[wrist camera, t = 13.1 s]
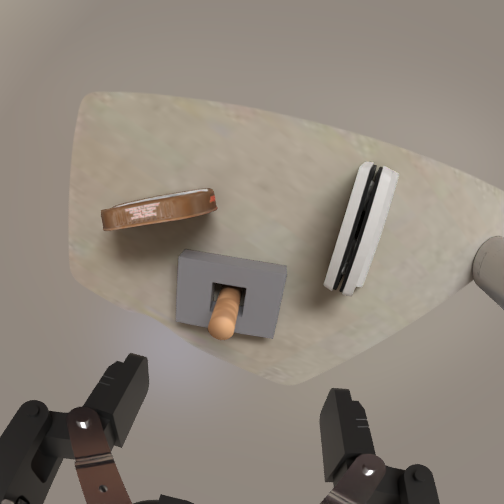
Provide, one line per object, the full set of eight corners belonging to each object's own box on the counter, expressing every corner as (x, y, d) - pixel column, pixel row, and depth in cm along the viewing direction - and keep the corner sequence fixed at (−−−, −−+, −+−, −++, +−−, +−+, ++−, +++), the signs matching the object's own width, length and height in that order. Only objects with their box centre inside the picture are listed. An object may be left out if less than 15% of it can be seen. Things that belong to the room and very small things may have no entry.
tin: (121, 221, 42) (92, 239, 34) (117, 200, 41) (85, 214, 33) (223, 205, 41) (210, 221, 33) (219, 181, 40) (205, 191, 32)
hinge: (362, 285, 43) (354, 315, 34) (331, 274, 44) (316, 300, 36) (399, 171, 37) (404, 170, 28) (366, 160, 39) (360, 156, 30)
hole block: (286, 265, 43) (286, 274, 40) (273, 327, 46) (273, 338, 43) (184, 249, 43) (178, 256, 40) (181, 311, 46) (175, 321, 44)
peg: (243, 282, 44) (235, 320, 35) (240, 301, 45) (232, 341, 36) (222, 279, 44) (208, 316, 35) (220, 297, 45) (207, 337, 36)
